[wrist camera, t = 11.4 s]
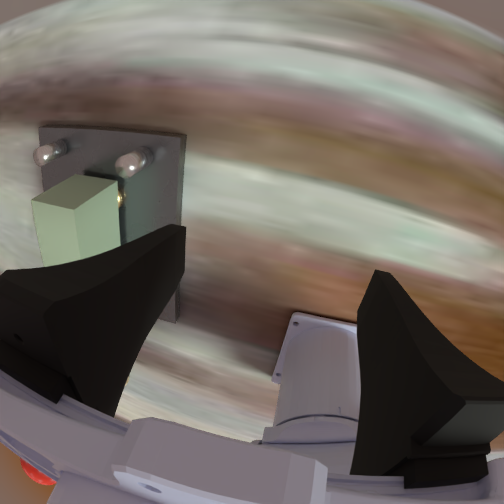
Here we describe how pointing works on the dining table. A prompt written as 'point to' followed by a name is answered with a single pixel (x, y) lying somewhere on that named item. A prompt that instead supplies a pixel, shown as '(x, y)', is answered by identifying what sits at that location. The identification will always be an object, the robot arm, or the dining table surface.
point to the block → (77, 219)
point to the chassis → (122, 175)
